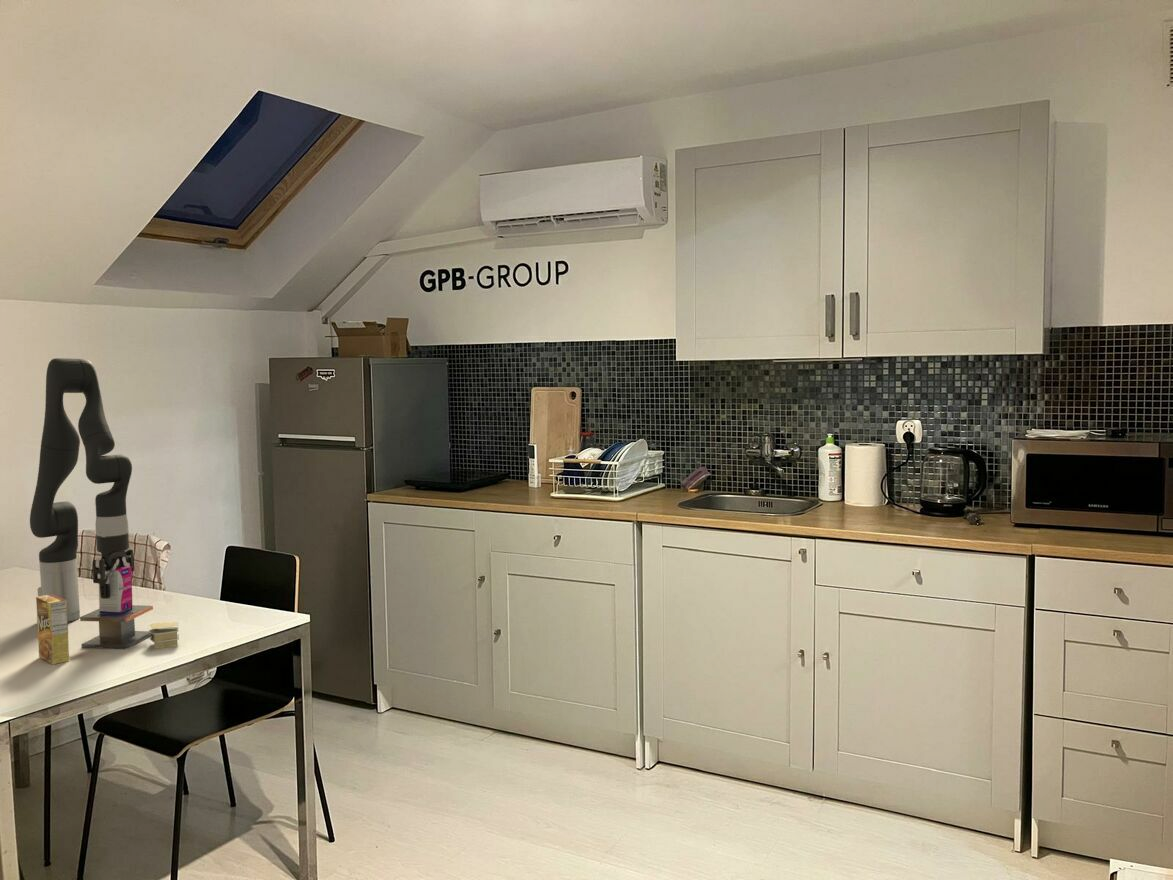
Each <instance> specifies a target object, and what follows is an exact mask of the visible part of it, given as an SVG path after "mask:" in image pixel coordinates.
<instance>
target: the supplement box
mask: <svg viewBox="0 0 1173 880" xmlns="http://www.w3.org/2000/svg"><path fill="white" fill-rule="evenodd" d="M105 572H109V571H106V570H105ZM132 572H133V571H132V567H130V565H129V566H126V567H120V568H118V569H116V570H115V571H114V575H113V576H112V577H111V579H110V582H109V584H110V598H108V599H102V598H101V596H100V585H99V584H98V599H99V600H98V603H99V605H98V606H99V607H98V609H99V611H100V612H99V613H103V614H120V613H122V612H124V611H127V610H130V609H132V608H133V607H132V605H133V578H132V576H133V574H132ZM99 576H100V574H98V577H99ZM106 577H107V576H105V579H106Z"/></svg>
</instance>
